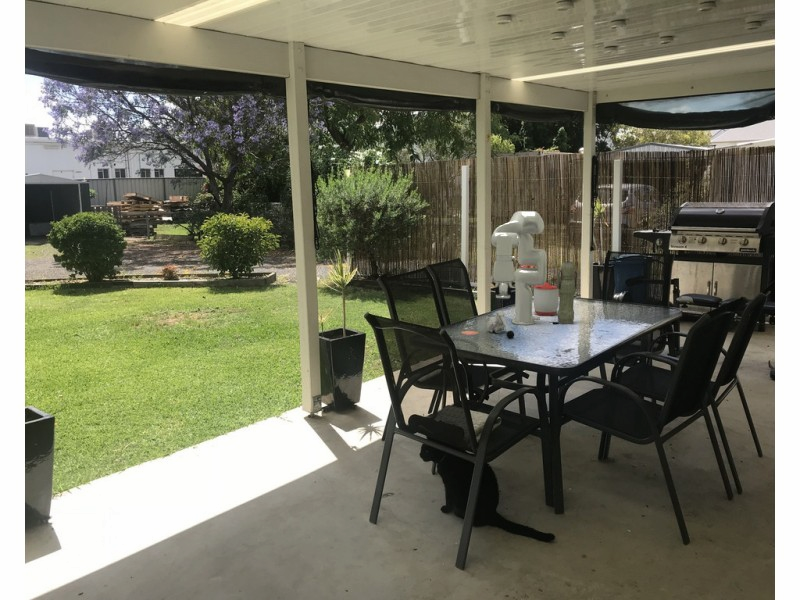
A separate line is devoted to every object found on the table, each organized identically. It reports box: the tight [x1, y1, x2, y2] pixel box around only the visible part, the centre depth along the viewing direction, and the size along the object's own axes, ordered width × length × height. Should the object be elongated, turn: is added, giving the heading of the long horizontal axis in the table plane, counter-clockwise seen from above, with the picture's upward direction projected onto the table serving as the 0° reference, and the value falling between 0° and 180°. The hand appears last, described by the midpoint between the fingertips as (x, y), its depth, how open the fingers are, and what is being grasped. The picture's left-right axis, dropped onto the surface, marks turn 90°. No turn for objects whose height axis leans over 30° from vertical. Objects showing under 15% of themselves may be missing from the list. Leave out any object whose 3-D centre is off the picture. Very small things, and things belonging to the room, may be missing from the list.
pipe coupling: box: [495, 282, 511, 300], centre depth 322 cm, size 7×7×8 cm
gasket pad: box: [460, 330, 479, 336], centre depth 341 cm, size 9×9×1 cm
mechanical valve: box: [486, 310, 515, 340], centre depth 337 cm, size 10×18×15 cm
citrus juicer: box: [532, 281, 560, 317], centre depth 392 cm, size 16×17×20 cm
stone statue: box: [556, 261, 579, 325], centre depth 364 cm, size 9×12×35 cm
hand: (503, 294), depth 322 cm, fingers closed on pipe coupling, 5 cm apart
